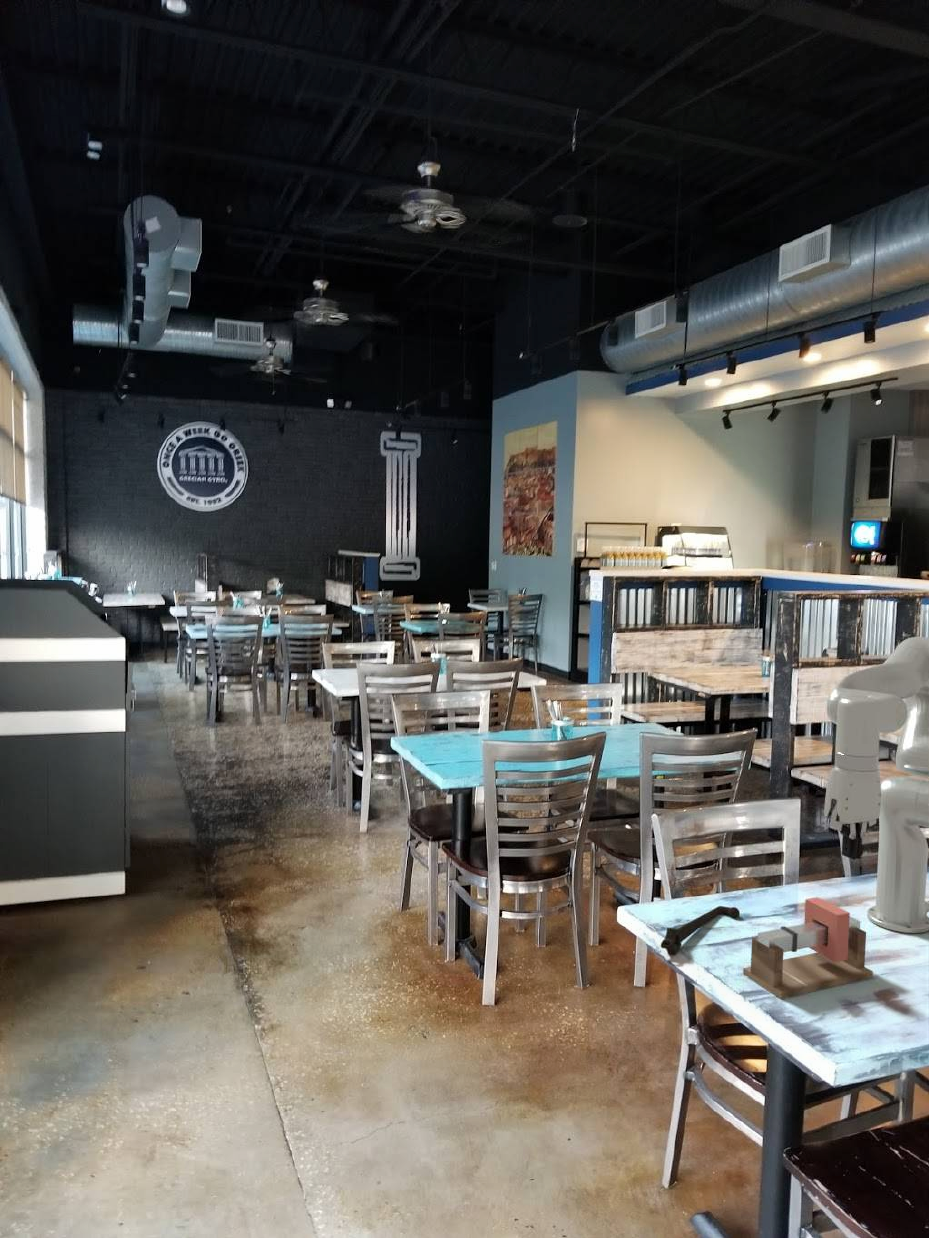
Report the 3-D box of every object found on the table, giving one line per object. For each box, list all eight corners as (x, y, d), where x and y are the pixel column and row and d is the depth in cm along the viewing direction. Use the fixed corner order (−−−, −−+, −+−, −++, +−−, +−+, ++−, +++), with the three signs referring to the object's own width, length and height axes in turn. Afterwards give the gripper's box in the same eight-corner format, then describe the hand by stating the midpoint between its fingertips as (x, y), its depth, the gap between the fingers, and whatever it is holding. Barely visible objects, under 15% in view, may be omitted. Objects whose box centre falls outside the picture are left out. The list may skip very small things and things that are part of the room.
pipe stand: (832, 955, 180) (833, 915, 179) (872, 977, 170) (874, 936, 170) (743, 974, 171) (744, 933, 170) (780, 999, 162) (782, 955, 161)
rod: (846, 930, 176) (847, 913, 176) (860, 938, 173) (861, 920, 173) (756, 949, 167) (757, 931, 167) (769, 957, 164) (770, 938, 164)
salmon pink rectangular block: (815, 942, 176) (817, 897, 175) (847, 959, 169) (849, 912, 168) (803, 944, 175) (805, 899, 174) (835, 962, 168) (837, 915, 167)
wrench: (741, 925, 198) (682, 964, 174) (718, 921, 201) (657, 958, 177) (741, 901, 198) (682, 937, 174) (718, 897, 201) (658, 931, 177)
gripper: (869, 754, 177) (864, 846, 179) (810, 760, 172) (806, 855, 173) (901, 763, 170) (896, 858, 172) (841, 769, 165) (836, 868, 166)
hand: (851, 856), depth 172 cm, fingers closed
